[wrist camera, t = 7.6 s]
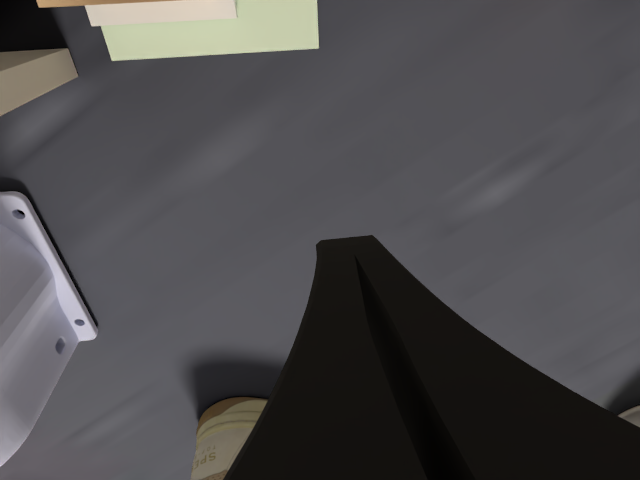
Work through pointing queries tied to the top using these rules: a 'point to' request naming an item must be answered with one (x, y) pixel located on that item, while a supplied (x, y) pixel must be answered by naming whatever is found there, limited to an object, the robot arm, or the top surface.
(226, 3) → the cream and orange bar
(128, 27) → the pad
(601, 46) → the top surface
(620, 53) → the top surface
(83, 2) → the block
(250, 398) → the boat shoe
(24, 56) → the tunnel
